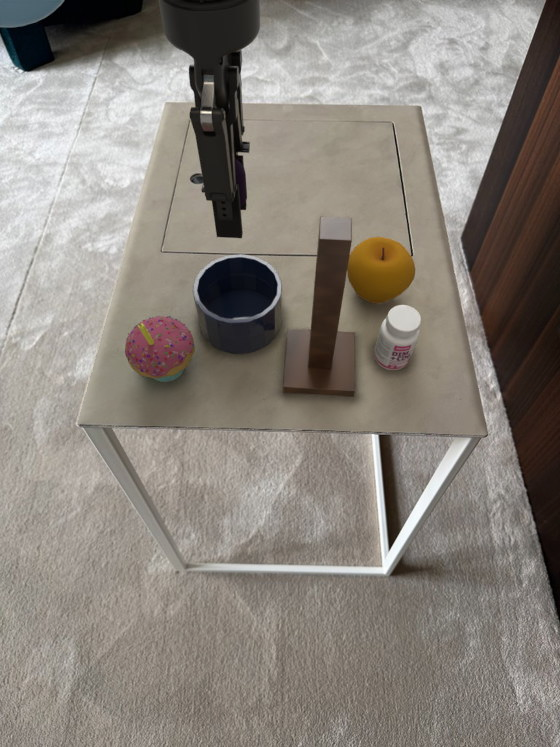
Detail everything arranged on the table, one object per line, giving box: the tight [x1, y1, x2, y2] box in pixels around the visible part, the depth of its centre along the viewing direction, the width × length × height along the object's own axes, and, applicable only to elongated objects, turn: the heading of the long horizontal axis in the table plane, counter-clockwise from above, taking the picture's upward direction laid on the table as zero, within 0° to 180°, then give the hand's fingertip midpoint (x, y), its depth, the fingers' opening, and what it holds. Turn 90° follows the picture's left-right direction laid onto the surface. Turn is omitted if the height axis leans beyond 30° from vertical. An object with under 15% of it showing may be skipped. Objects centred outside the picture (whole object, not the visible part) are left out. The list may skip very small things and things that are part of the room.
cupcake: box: [124, 315, 196, 383], centre depth 66 cm, size 9×8×12 cm
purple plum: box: [234, 158, 248, 207], centre depth 55 cm, size 4×4×5 cm
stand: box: [282, 216, 356, 398], centre depth 61 cm, size 9×9×24 cm
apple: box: [347, 236, 416, 305], centre depth 74 cm, size 9×9×9 cm
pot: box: [192, 253, 283, 355], centre depth 72 cm, size 11×11×7 cm
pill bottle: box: [373, 304, 422, 371], centre depth 68 cm, size 5×5×8 cm
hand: (231, 220), depth 59 cm, fingers closed on purple plum, 4 cm apart
